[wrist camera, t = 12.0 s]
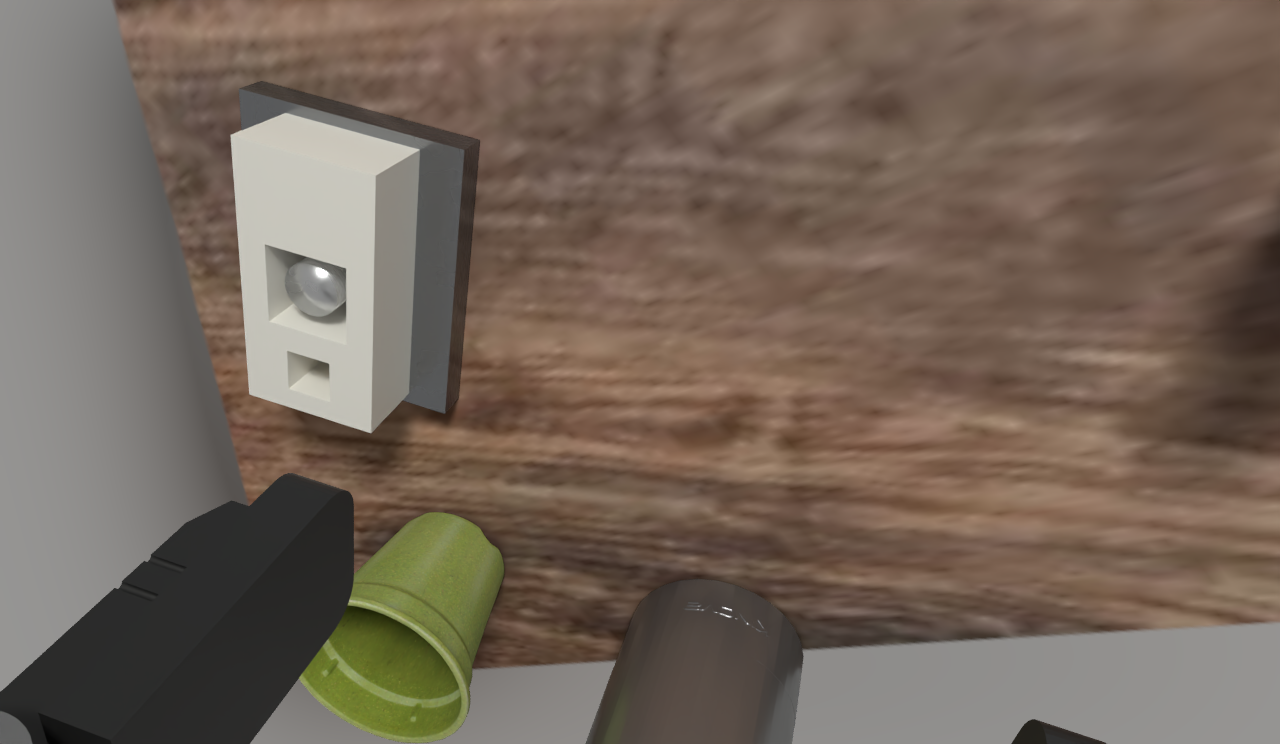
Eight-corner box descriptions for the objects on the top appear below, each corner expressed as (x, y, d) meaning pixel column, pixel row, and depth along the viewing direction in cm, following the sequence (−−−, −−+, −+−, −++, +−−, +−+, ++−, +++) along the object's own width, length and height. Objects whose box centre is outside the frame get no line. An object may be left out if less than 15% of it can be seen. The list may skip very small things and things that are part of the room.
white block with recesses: (285, 112, 36) (230, 135, 33) (420, 149, 36) (375, 175, 33) (294, 357, 43) (249, 394, 40) (408, 393, 42) (371, 433, 39)
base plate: (458, 397, 43) (415, 448, 39) (274, 340, 44) (215, 384, 41) (479, 140, 36) (429, 172, 32) (261, 81, 38) (188, 105, 34)
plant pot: (532, 636, 50) (468, 766, 43) (382, 594, 52) (296, 713, 45) (537, 509, 45) (465, 632, 38) (370, 468, 47) (272, 578, 40)
